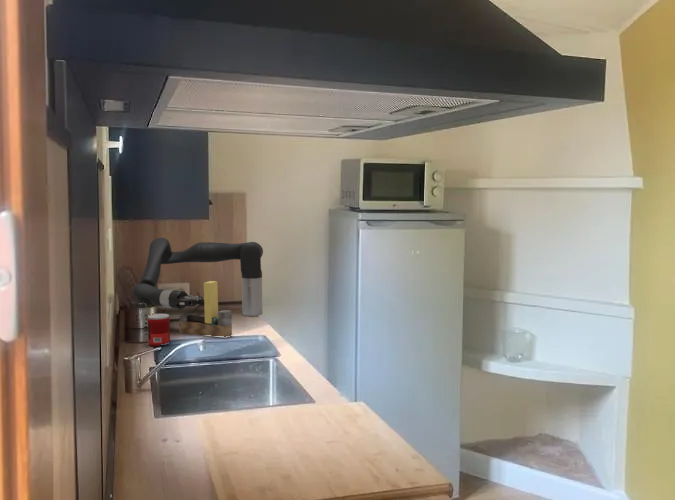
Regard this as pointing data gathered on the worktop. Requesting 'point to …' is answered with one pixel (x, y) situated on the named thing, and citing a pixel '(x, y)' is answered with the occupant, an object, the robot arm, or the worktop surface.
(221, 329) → the wooden rack
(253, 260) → the robot arm
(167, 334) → the canned food
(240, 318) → the worktop surface
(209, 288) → the yellow rectangular block
